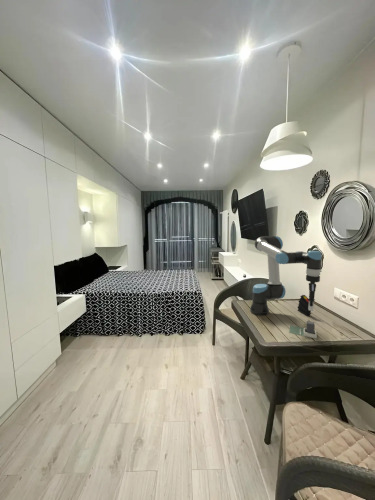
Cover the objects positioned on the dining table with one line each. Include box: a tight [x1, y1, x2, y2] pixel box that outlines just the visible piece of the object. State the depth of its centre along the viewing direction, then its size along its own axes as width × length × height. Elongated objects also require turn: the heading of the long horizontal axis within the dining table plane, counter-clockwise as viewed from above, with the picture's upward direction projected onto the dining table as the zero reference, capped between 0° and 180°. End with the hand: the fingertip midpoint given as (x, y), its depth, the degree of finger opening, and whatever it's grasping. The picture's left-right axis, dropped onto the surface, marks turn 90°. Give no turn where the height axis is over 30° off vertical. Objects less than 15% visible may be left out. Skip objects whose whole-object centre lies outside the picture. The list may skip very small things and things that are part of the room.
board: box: [288, 324, 318, 340], centre depth 136 cm, size 16×12×3 cm
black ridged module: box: [297, 294, 312, 317], centre depth 166 cm, size 4×13×15 cm, turn 10°
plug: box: [305, 320, 316, 334], centre depth 131 cm, size 4×4×8 cm
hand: (310, 310), depth 130 cm, fingers closed
